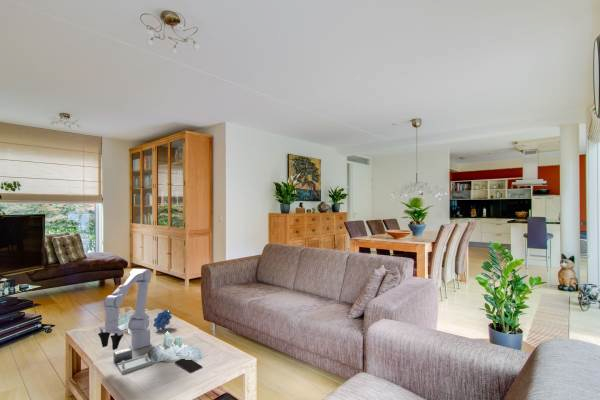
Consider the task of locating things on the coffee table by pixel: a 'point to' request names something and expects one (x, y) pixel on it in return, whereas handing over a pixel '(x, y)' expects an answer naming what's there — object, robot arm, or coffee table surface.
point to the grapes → (162, 319)
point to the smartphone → (188, 365)
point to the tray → (134, 364)
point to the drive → (122, 355)
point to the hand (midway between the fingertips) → (109, 347)
